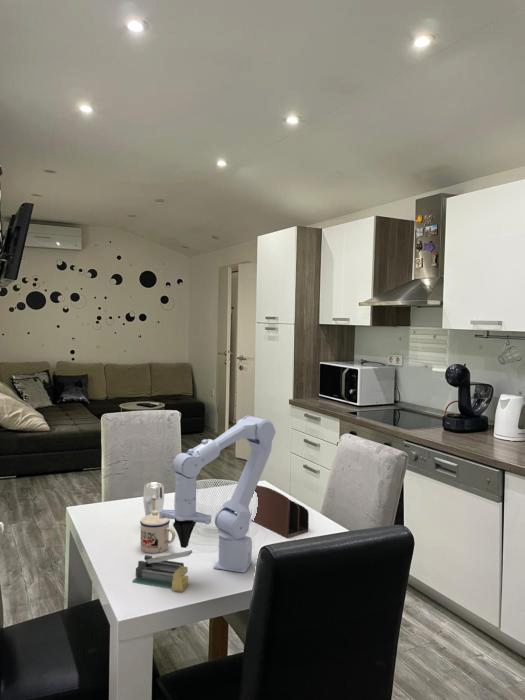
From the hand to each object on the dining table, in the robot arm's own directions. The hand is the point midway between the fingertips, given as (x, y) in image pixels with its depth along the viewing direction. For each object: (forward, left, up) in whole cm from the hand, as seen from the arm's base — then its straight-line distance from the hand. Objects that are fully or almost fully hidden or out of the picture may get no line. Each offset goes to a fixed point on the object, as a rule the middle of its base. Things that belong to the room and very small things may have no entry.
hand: (184, 546), depth 153 cm
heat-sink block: (+6, 0, -9) cm, 11 cm away
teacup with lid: (+15, -17, -10) cm, 25 cm away
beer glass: (+24, -32, -10) cm, 41 cm away
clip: (-1, +5, -9) cm, 11 cm away
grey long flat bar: (+5, 0, -4) cm, 6 cm away
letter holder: (-16, -47, -10) cm, 51 cm away
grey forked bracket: (+11, 0, -9) cm, 15 cm away
